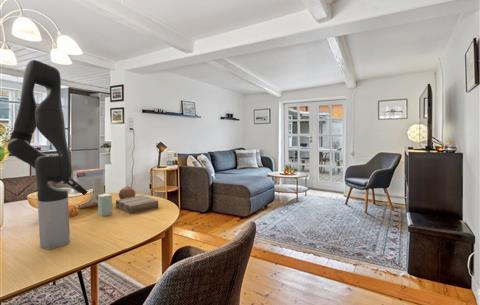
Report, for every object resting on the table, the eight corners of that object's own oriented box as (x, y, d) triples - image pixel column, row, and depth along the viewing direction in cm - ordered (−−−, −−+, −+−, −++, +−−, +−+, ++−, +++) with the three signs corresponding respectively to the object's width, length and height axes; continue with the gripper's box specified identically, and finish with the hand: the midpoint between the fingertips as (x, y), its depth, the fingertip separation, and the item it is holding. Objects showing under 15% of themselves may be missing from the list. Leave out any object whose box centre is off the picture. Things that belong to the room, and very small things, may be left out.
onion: (126, 204, 164) (127, 189, 168) (138, 201, 161) (139, 186, 165) (114, 202, 156) (115, 186, 160) (126, 199, 153) (127, 183, 157)
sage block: (112, 214, 136) (111, 194, 135) (102, 216, 132) (101, 196, 131) (108, 212, 139) (107, 193, 138) (98, 214, 135) (97, 195, 135)
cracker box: (100, 202, 158) (99, 168, 157) (104, 204, 154) (103, 168, 153) (74, 207, 148) (72, 170, 146) (78, 209, 144) (76, 171, 142)
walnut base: (158, 207, 148) (158, 200, 147) (130, 213, 136) (130, 206, 136) (142, 201, 160) (142, 195, 160) (116, 207, 148) (115, 200, 148)
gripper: (64, 166, 115) (94, 188, 124) (56, 163, 125) (84, 183, 134) (50, 179, 112) (82, 201, 121) (43, 175, 121) (72, 195, 131)
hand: (83, 192), depth 127 cm, fingers open, 8 cm apart
